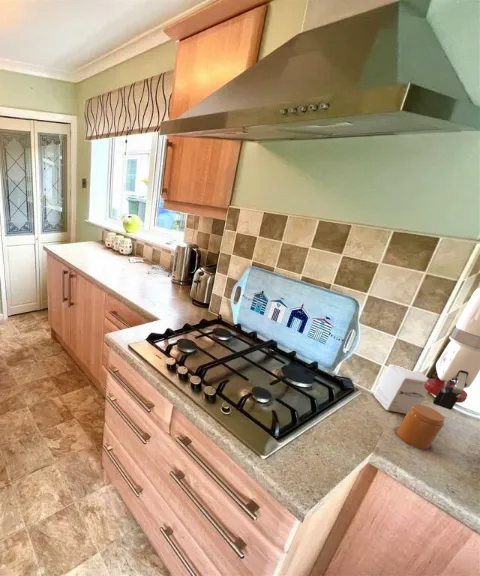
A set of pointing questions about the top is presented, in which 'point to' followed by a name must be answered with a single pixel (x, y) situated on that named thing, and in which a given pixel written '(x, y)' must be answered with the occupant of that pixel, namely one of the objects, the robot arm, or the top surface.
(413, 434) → the jar
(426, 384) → the lid
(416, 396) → the white packaging box
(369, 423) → the top surface
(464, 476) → the top surface
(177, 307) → the top surface
